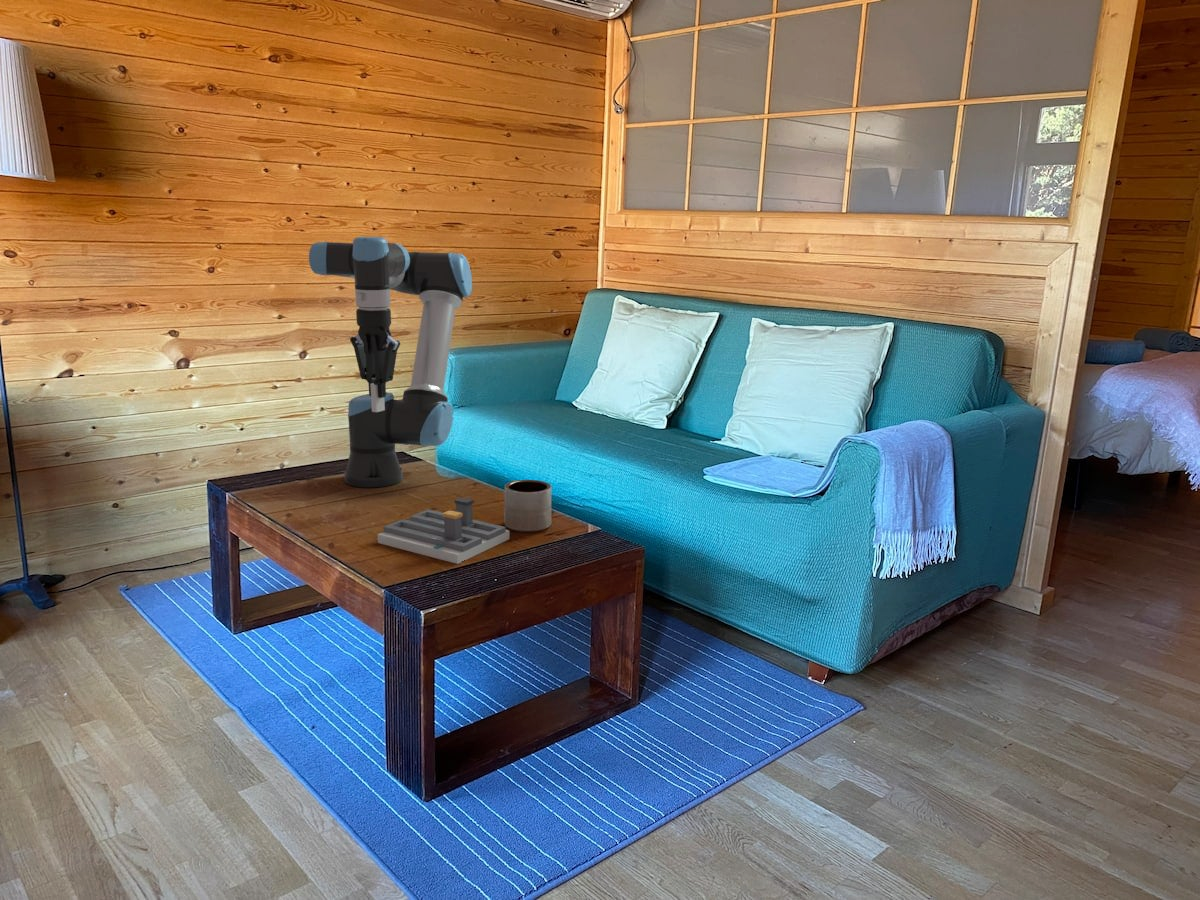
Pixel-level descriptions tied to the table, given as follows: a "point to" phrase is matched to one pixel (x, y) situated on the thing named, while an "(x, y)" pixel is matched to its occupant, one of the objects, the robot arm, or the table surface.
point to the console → (428, 533)
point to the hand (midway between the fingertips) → (378, 410)
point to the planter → (527, 505)
